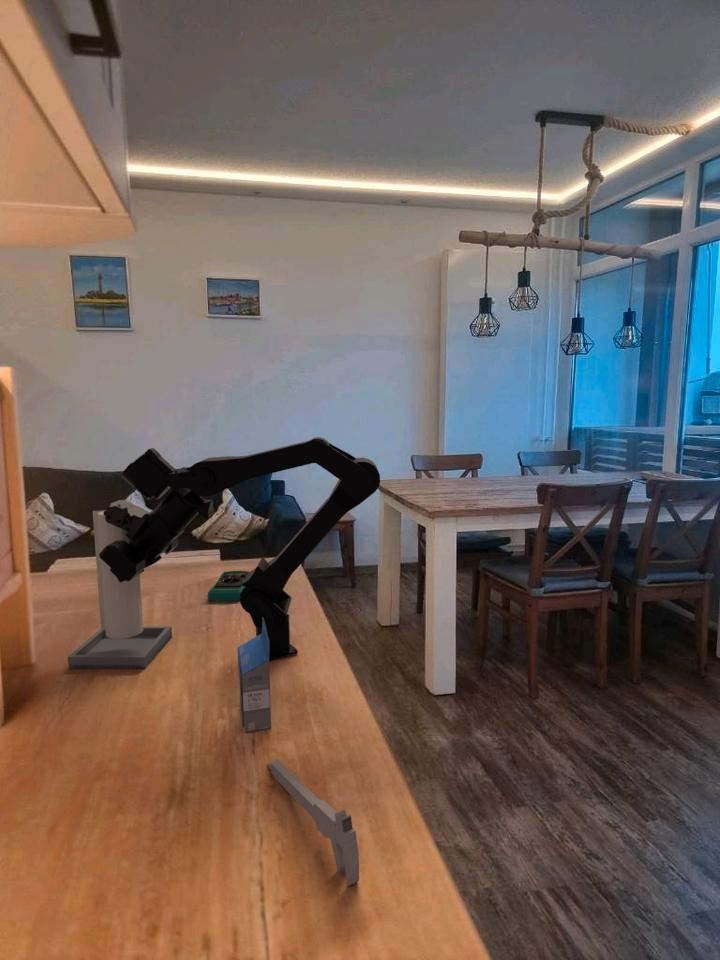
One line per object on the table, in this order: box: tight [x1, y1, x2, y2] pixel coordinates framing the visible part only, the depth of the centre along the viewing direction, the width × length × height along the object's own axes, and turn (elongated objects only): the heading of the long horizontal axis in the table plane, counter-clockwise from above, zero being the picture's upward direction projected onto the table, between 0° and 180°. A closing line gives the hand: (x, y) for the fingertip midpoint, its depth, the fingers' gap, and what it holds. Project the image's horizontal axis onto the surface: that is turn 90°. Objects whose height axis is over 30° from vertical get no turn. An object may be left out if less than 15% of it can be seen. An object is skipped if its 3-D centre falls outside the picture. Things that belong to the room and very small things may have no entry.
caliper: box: [266, 759, 360, 887], centre depth 61 cm, size 20×1×6 cm, turn 30°
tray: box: [67, 625, 173, 670], centre depth 101 cm, size 13×13×2 cm
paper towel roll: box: [92, 509, 144, 639], centre depth 99 cm, size 7×6×21 cm
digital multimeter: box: [207, 570, 249, 602], centre depth 132 cm, size 7×15×3 cm, turn 0°
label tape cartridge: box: [237, 617, 272, 734], centre depth 80 cm, size 9×4×12 cm, turn 15°
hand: (111, 582), depth 99 cm, fingers closed on paper towel roll, 3 cm apart
